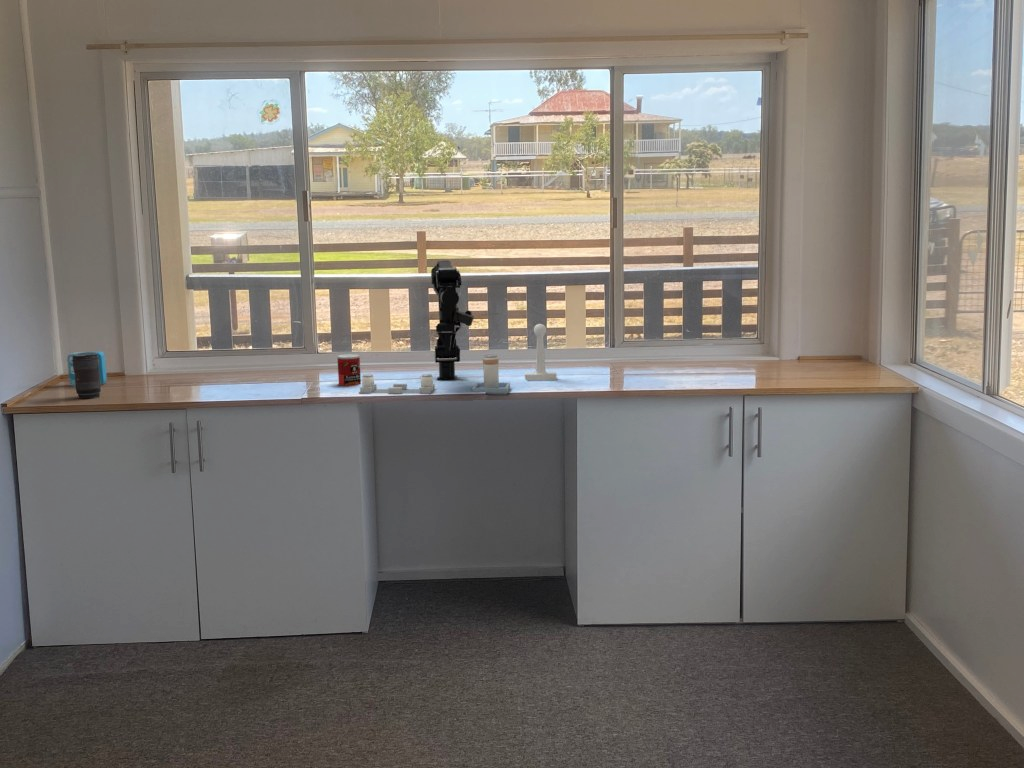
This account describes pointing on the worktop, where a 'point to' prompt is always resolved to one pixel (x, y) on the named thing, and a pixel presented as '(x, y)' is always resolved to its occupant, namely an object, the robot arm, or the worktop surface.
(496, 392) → the tray
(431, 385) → the small fuse
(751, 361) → the worktop surface
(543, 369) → the joystick
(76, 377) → the camera lens
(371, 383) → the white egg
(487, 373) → the copper banded cylinder
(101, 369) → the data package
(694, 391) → the worktop surface
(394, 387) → the block
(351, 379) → the canned food
